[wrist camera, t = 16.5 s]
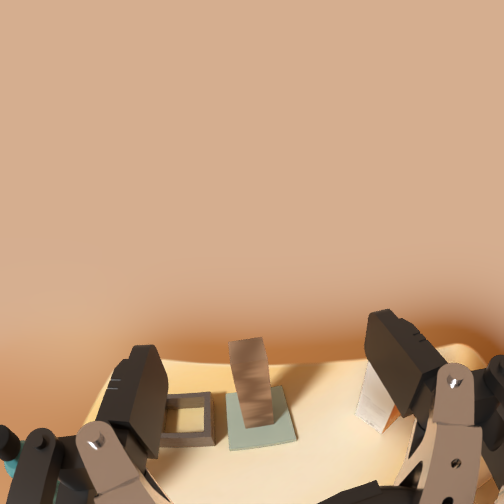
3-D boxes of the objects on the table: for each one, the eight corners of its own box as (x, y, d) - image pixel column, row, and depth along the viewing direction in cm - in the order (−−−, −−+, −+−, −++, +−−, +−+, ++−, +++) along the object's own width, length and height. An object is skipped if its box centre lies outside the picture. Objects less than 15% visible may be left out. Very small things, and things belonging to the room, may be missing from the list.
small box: (381, 435, 31) (403, 382, 27) (353, 414, 37) (366, 359, 32) (410, 405, 35) (433, 349, 31) (384, 388, 40) (399, 332, 36)
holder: (213, 402, 43) (210, 391, 42) (214, 445, 34) (210, 436, 33) (162, 405, 43) (157, 394, 41) (156, 446, 34) (150, 437, 33)
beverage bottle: (66, 514, 17) (-29, 442, 10) (79, 486, 23) (-3, 407, 16) (98, 533, 16) (-3, 469, 9) (112, 502, 22) (25, 427, 15)
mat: (281, 387, 45) (281, 385, 45) (296, 441, 34) (296, 439, 34) (226, 395, 44) (225, 393, 44) (230, 450, 33) (229, 449, 33)
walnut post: (269, 403, 41) (261, 336, 36) (274, 424, 37) (267, 358, 32) (242, 408, 41) (228, 341, 36) (245, 428, 37) (230, 364, 31)
